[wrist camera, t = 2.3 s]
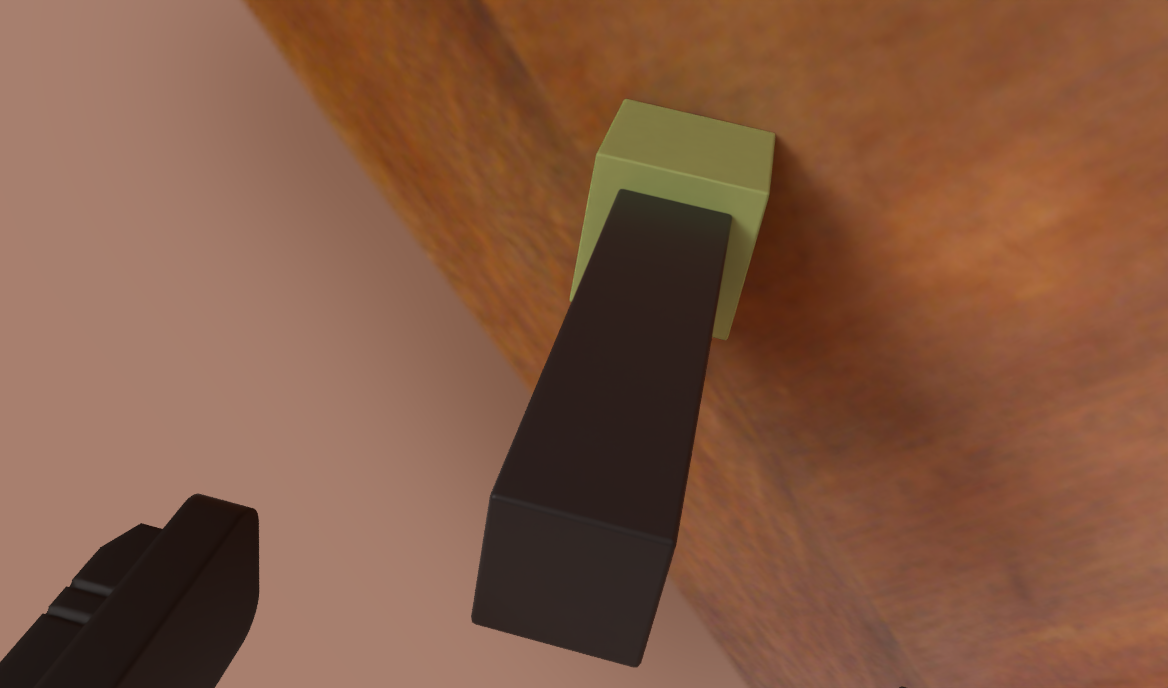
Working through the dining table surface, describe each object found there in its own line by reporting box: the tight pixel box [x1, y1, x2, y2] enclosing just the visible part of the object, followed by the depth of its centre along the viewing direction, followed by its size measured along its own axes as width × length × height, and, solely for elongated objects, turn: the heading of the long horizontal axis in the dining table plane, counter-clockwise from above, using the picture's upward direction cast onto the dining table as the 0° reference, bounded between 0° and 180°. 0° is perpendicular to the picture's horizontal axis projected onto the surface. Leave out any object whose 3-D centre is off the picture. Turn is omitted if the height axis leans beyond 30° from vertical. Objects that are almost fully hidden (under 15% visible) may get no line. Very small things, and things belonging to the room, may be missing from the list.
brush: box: [471, 99, 776, 667], centre depth 19 cm, size 4×4×14 cm
